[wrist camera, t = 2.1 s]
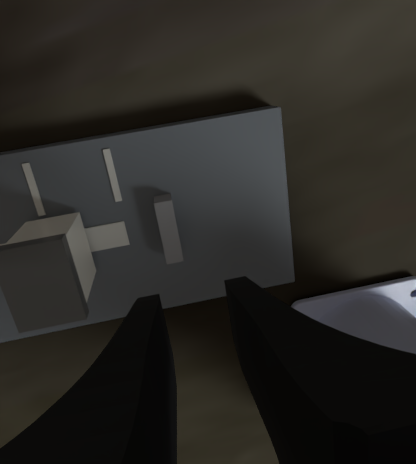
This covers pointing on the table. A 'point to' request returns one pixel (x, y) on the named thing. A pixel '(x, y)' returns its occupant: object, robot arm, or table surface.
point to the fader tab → (47, 272)
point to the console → (161, 209)
